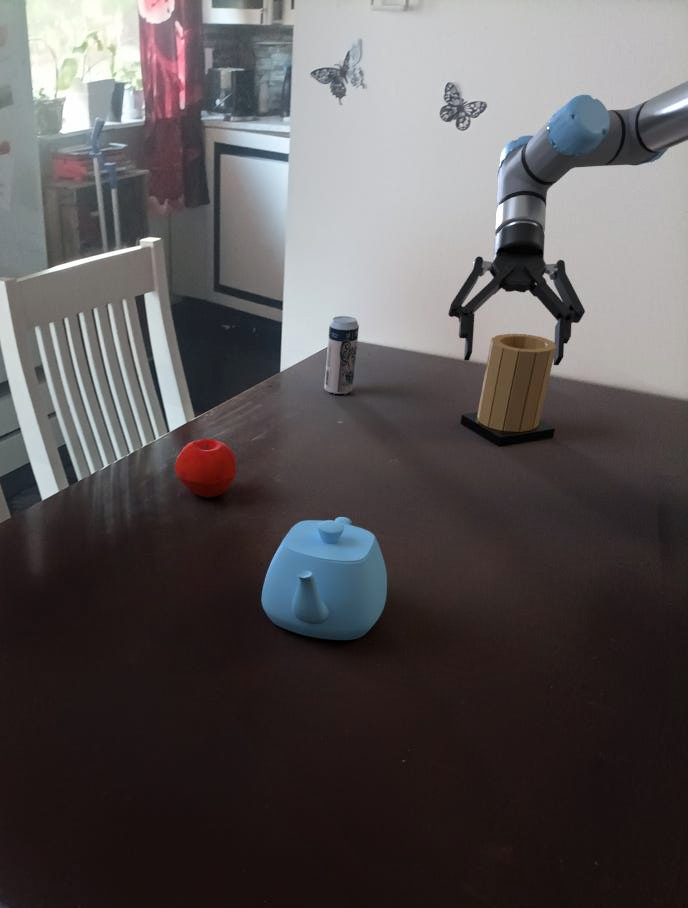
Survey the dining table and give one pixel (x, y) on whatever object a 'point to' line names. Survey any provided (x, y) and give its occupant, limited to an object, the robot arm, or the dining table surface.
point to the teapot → (326, 580)
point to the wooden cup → (515, 382)
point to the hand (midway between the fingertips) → (512, 358)
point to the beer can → (341, 355)
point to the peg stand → (506, 436)
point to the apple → (206, 467)
